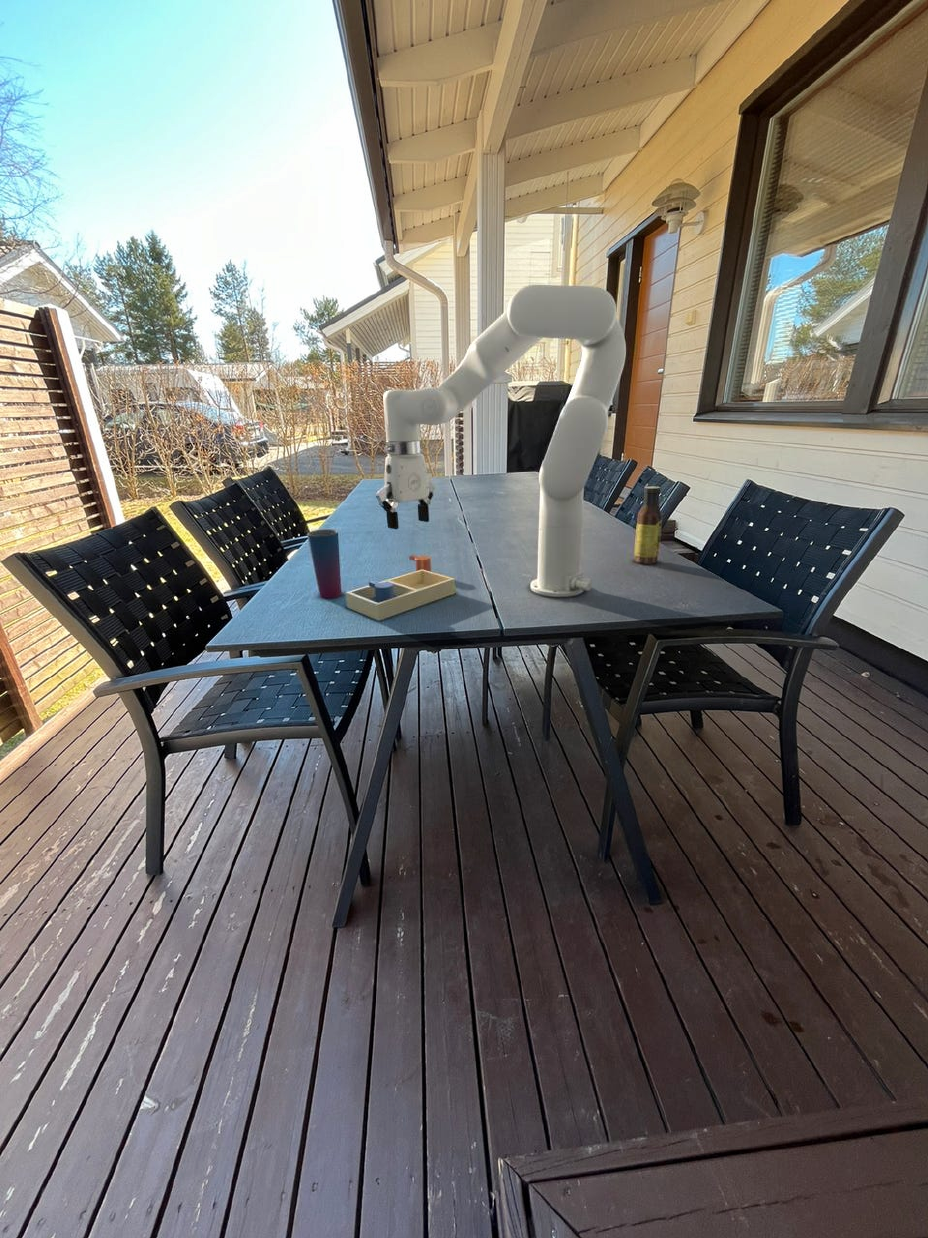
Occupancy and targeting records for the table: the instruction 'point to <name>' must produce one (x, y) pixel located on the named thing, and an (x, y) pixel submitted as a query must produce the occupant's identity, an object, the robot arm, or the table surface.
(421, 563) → the orange scoop
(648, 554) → the sauce bottle
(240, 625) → the table surface
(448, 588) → the sorter
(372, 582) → the blue scoop
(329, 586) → the cup
